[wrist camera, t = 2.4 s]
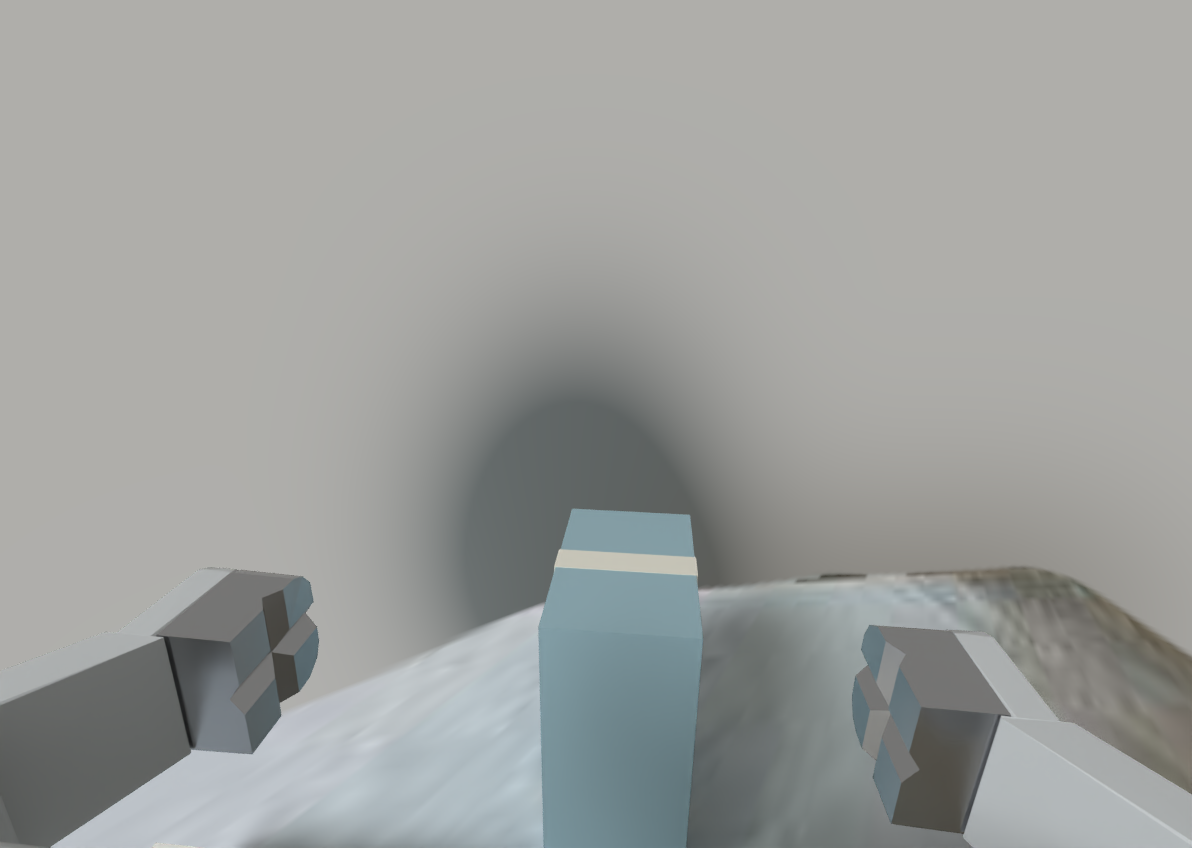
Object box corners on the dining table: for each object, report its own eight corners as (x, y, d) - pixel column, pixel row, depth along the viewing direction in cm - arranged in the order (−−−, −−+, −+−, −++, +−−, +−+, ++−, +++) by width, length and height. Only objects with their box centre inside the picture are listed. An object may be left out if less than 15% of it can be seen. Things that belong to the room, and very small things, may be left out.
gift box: (675, 736, 30) (691, 514, 26) (682, 913, 22) (704, 638, 18) (571, 727, 30) (571, 508, 26) (543, 898, 23) (536, 626, 19)
